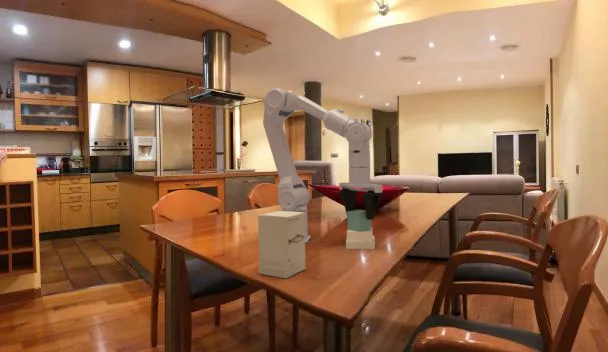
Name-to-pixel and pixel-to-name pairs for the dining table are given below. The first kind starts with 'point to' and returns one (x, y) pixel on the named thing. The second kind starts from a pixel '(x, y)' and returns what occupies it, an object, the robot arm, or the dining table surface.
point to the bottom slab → (360, 244)
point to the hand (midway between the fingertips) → (360, 217)
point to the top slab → (360, 235)
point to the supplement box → (281, 243)
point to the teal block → (358, 221)
